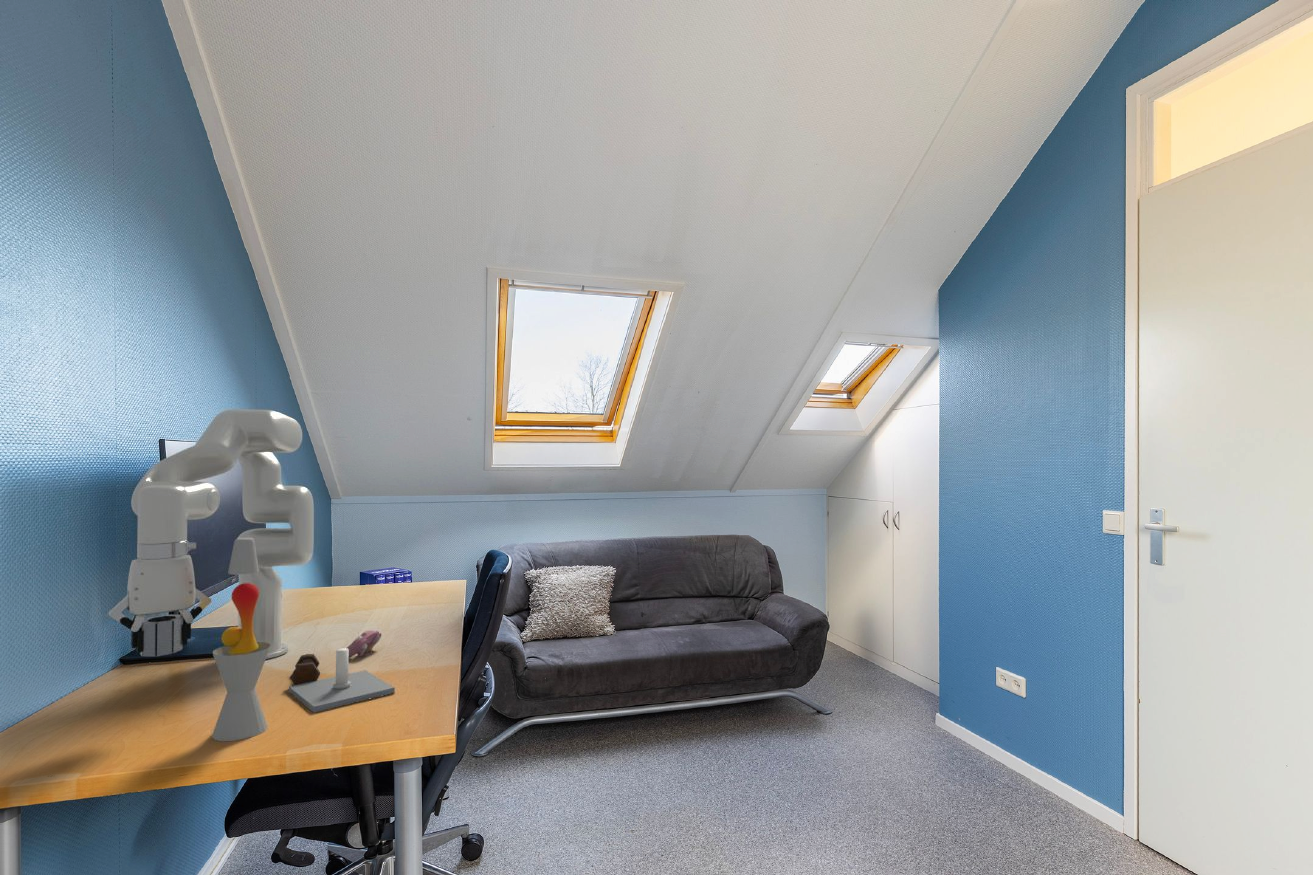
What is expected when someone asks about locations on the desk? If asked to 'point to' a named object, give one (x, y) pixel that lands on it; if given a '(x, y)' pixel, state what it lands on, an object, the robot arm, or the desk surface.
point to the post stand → (340, 687)
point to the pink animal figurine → (364, 643)
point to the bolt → (305, 670)
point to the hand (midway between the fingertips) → (161, 646)
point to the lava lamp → (241, 656)
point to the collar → (162, 635)
